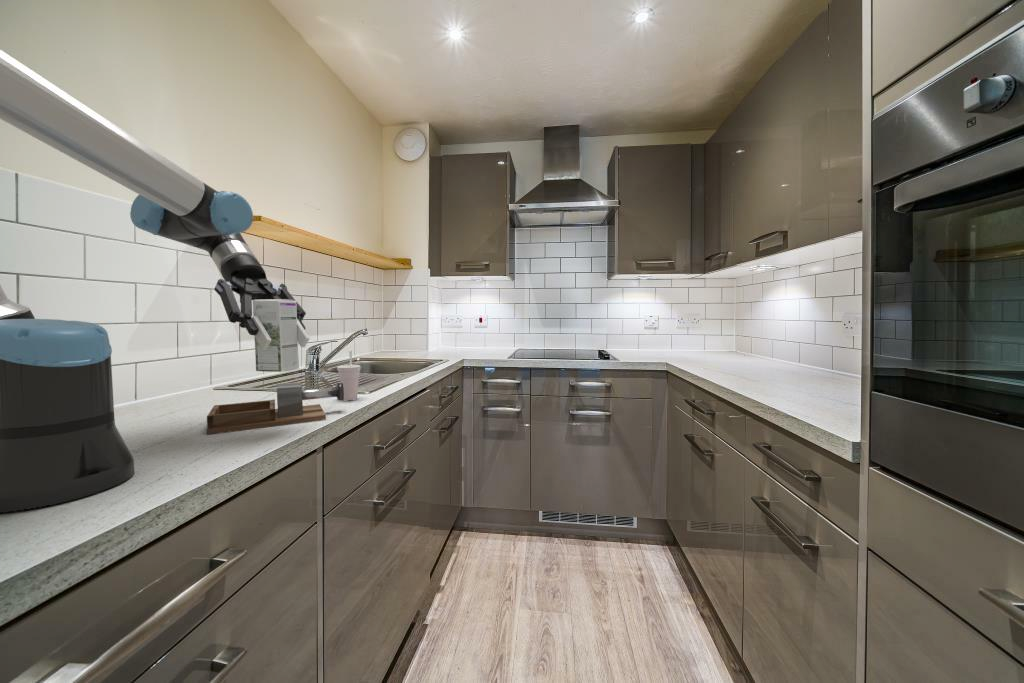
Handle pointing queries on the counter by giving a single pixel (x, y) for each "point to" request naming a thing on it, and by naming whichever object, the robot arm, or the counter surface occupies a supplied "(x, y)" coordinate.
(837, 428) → the counter surface
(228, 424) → the jig
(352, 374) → the smoothie
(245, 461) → the counter surface
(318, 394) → the shaft
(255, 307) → the syrup box
